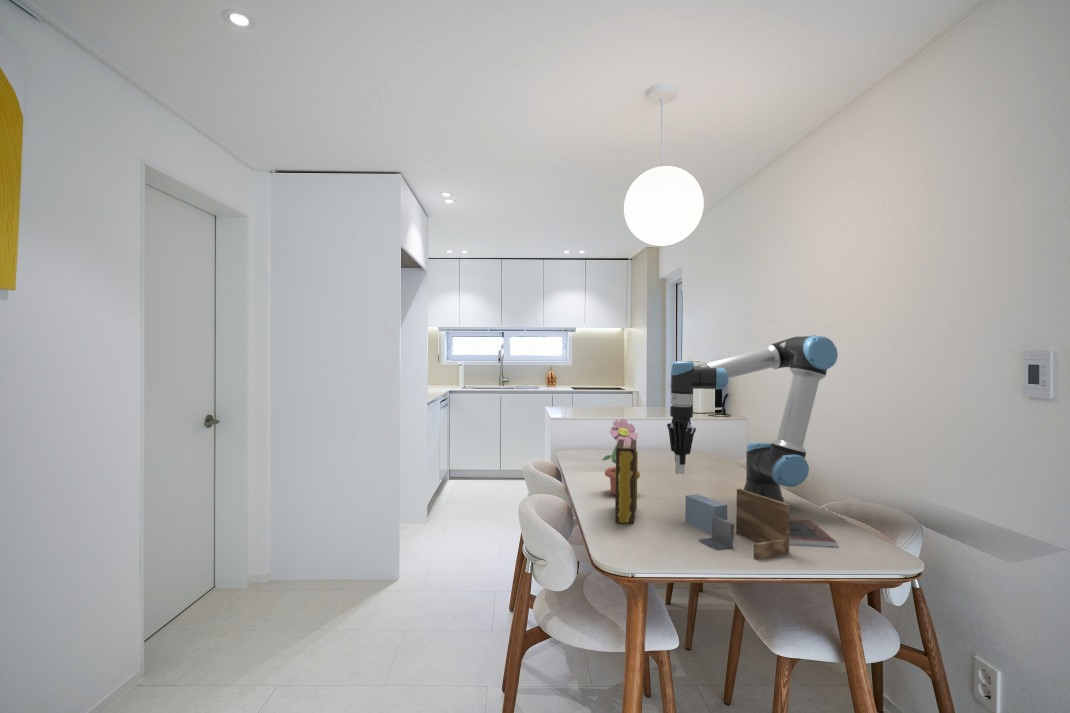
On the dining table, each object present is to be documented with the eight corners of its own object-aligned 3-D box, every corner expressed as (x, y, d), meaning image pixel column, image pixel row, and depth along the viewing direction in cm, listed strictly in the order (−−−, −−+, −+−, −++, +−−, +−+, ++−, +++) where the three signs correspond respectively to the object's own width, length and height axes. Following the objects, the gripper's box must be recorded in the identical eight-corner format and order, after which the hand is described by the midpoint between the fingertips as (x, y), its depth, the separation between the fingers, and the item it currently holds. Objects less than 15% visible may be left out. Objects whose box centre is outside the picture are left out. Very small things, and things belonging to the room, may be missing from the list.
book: (637, 525, 179) (638, 449, 179) (611, 523, 181) (612, 448, 181) (638, 506, 201) (639, 439, 201) (615, 505, 203) (616, 437, 203)
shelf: (739, 532, 173) (740, 488, 173) (788, 553, 156) (789, 504, 156) (709, 537, 168) (709, 492, 168) (756, 559, 151) (757, 508, 151)
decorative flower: (609, 500, 210) (610, 421, 210) (597, 490, 223) (598, 417, 223) (645, 498, 213) (646, 421, 213) (631, 489, 227) (632, 417, 226)
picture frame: (759, 523, 185) (778, 546, 164) (759, 516, 185) (778, 537, 164) (810, 526, 183) (836, 549, 161) (811, 519, 183) (837, 541, 161)
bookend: (714, 538, 167) (714, 515, 167) (733, 547, 160) (733, 523, 160) (698, 541, 165) (699, 518, 165) (717, 550, 158) (717, 526, 158)
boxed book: (696, 520, 186) (697, 493, 186) (726, 533, 173) (727, 505, 173) (684, 522, 184) (685, 495, 184) (714, 535, 171) (714, 506, 171)
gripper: (661, 404, 195) (659, 470, 195) (684, 407, 183) (683, 478, 183) (678, 403, 198) (676, 468, 198) (702, 407, 186) (701, 476, 186)
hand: (679, 473), depth 190 cm, fingers closed
